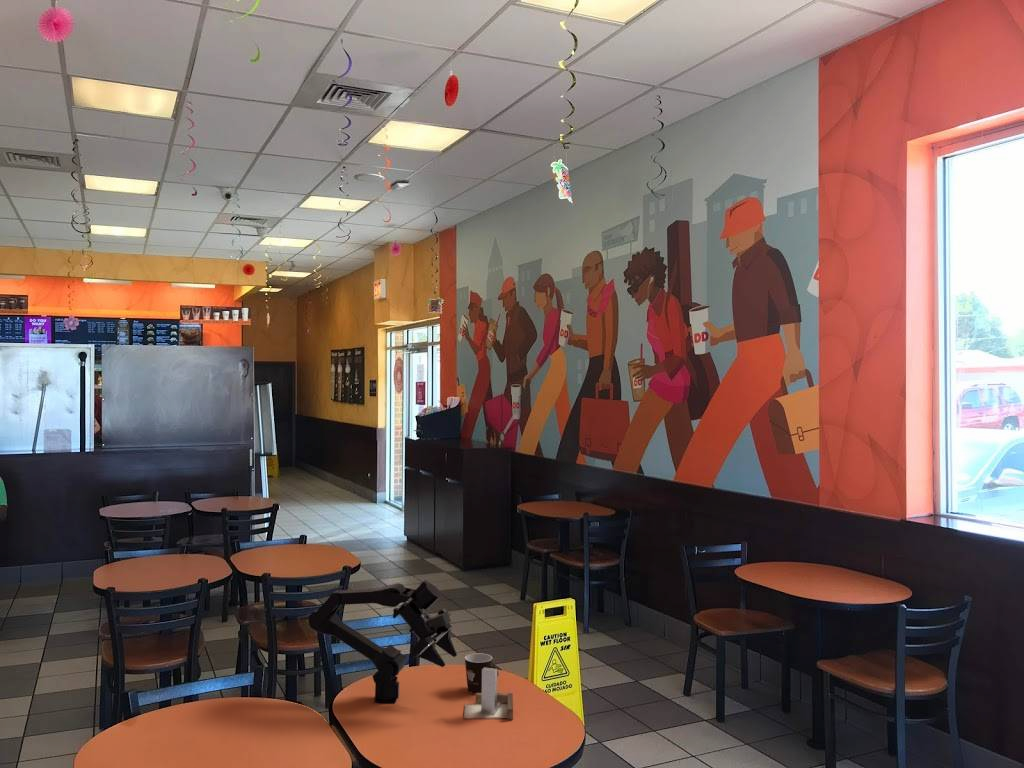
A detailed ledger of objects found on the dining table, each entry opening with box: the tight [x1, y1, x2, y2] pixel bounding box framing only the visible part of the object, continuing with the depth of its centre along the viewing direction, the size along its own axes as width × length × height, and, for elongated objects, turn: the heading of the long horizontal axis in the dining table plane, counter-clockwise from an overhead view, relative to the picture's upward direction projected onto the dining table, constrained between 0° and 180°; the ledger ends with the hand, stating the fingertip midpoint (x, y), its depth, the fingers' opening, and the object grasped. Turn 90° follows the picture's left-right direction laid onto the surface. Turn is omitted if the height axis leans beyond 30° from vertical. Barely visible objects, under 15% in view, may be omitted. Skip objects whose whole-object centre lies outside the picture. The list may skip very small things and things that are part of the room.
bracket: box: [481, 667, 501, 715], centre depth 233 cm, size 4×6×12 cm, turn 163°
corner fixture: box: [463, 692, 514, 721], centre depth 233 cm, size 14×12×3 cm
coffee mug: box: [464, 652, 499, 694], centre depth 248 cm, size 12×9×10 cm
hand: (450, 661), depth 236 cm, fingers open, 9 cm apart
